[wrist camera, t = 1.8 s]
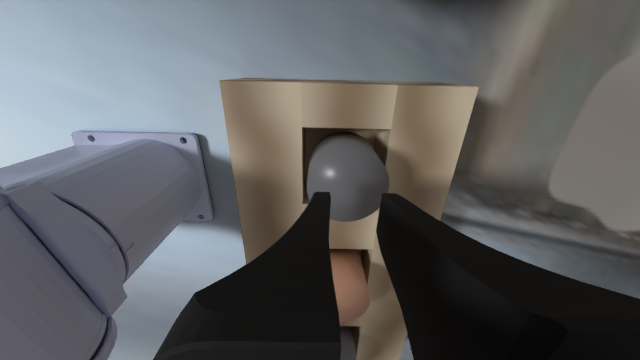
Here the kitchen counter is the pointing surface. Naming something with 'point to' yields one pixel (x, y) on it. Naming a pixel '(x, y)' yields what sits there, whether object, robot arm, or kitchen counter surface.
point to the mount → (294, 155)
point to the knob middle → (349, 284)
